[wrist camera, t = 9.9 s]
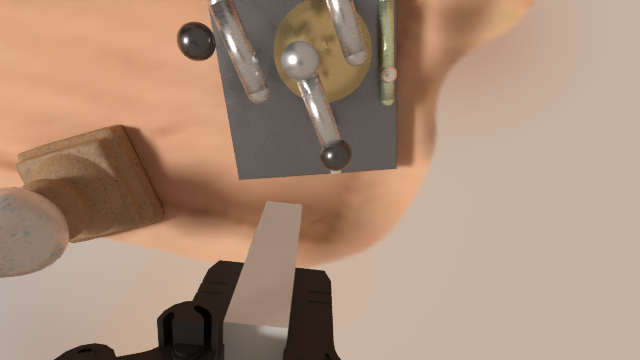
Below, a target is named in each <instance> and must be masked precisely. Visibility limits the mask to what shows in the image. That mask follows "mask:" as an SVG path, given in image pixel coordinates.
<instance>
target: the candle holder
mask: <svg viewBox="0 0 640 360" xmlns="http://www.w3.org/2000/svg"><path fill="white" fill-rule="evenodd" d="M17 156H18V159H19V161H20V162H19V163H18V164H16V168H17V171H18V173H19V175H20V177H21V179H22V181H23V183H24V184H25V185H24V186H23V187H22V188H15V187H7V188H0V278H5V277H15V276H21V275H26V274H31V273H34V272H37V271H39V270H42V269H44V268H46V267H48V266H50V265H51V264H53V263H54V262H55V261H56V260H57V259H59V258H60V257H61V255H62V254H63V252H64V251H65V249H66V247H67V245H68V242H71V243H76V242H82V241H87V240H91V239H95V238H99V237H103V236H107V235H111V234H115V233H119V232H123V231H127V230H131V229H135V228H139V227H143V226H146V225H149V224H153V223H155V222H157V221H158V220H159V219H160V218H161V217H162V216H163V215H164V210H163V208H162V206H161V203H160V201H159V199H158V197H157V195H156V193H155V190H154V188H153V186H152V184H151V182H150V180H149V178H148V176H147V174H146V172H145V170H144V168H143V166H142V164H141V161H140V159H139V157H138V155H137V153H136V151H135V149H134V147H133V145H132V143H131V141H130V139H129V137H128V135H127V133H126V132H125V130H124V128H123V127H122V126H121V125H115V126H110V127H106V128H102V129H99V130H95V131H92V132H88V133H85V134H81V135H78V136H74V137H71V138H67V139H64V140H60V141H57V142H53V143H50V144H46V145H43V146H40V147H37V148H34V149H31V150H28V151H26V152H23V153H20V154H19V155H17Z"/></svg>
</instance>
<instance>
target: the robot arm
mask: <svg viewBox="0 0 640 360" xmlns="http://www.w3.org/2000/svg"><path fill="white" fill-rule="evenodd" d="M302 207H303V205H300V204H291V203H283V202H275V201H267V202H266V204H265V207H264V210H263V213H262V215H261V218H260V221H259V224H258V227H257V229H256V232H255V235H254V238H253V241H252V243H251V246H250V249H249V252H248V255H247V257H246V260H245V263H240V262H231V261H221V260H220V261H218V262H217V263H216V264H215V265H213V266H212V267H211V268H210V269H209V270H208V271H207V274H206V275H205V277H204V279H203V282H202V283H201V285H200V287H199V289H198V292H197V293H196V295H195V297H194V299H193V301H185V302H182V303H179V304H175V305H173V306H172V307H170V308H168V309H167V310H165V311H164V312H163V313H162V314H161V315H160V316H159V317H158V319H157V326H158V341H159V347H156V348H154V349H152V350H149V351H146V352H141V353H136V354H131V355H125V356H119V357H116V356H115V353H114V350H113V349H111V348H110V347H108V346H107V345H103V344H96V343H94V344H87V345H81V346H78V347H76V348H73V349H71V350H69V351H66V352H65V353H63V354H62V355H60V356H59V357H57V358H56V359H54V360H341V359H340V358H339V357H338V355H337V353H336V351H335V348H334V341H333V319H332V318H333V317H332V296H331V281H330V279H329V277H328V276H327V274H326V273H325V271H321V270H313V269H304V268H295V266H296V258H297V249H298V241H299V232H300V224H301V215H302Z"/></svg>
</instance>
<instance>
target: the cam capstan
mask: <svg viewBox="0 0 640 360" xmlns="http://www.w3.org/2000/svg"><path fill="white" fill-rule="evenodd" d="M208 6H209V9H210V11H211V14H212V16H213V18H214V20H215V23H216V25H217V27H218V30H219V32H220V34H221V36H222V39H223V41H224V43H225V46H226V48H227V50H228V53H229V55H230V57H231V59H232V62H233V64H234V66H235V69H236V71H237V73H238V75H239V78H240V80H241V82H242V85H243V87H244V89H245V91H246V94H247V96H248V98H249V99H250V100H251V101H252V102H254V103H258V104H260V103H264V102H265V101H267V99H268V98H269V95H270V89H269V86H268V84H267V81H266V79H265V77H264V74H263V72H262V69H261V67H260V64H259V62H258V60H257V57H256V55H255V52H254V50H253V47H252V45H251V43H250V40H249V38H248V35H247V33H246V30H245V28H244V25H243V23H242V21H241V18H240V16H239V13H238V11H237V8H236V6H235V4H234V1H233V0H208ZM177 43H178V47H179V49H180V50H181V52H182V53H183V54H184V55H185V56H186V57H187V58H189V59H191V60H194V61H203V60H206V59H208V58H210V57H211V56H212V54H213V53H214V51H215V47H216V41H215V37H214V35H213V33H212V31H211V30H210V29H209V28H208V27H207V26H206V25H204V24H202V23H199V22H189V23H186V24H184V25H183V26H182V27H181V28H180V29H179V31H178V34H177ZM371 56H372V45H371V38H370V34H369V31H368V28H367V26H366V24H365V22H364V21H363V19H362V18H361V16H360V15H359V14H358V13H357V12H356V10H355V7H354V3H353V0H306V1H304V2H302V3H300V4H298V5H297V6H295V7H294V8H293V9H292V10H291V11H289V12H288V14H287V15H286V16H285V17H284V19H283V20H282V22H281V23H280V25H279V28H278V30H277V33H276V36H275V41H274V60H275V65H276V68H277V71H278V73H279V75H280V77H281V79H282V80H283V82H284V83H285V84H286V86H287V87H288V88H289V89H290V90H291V91H292V92H294V93H295V94H296V95H298V96H299V97H301V98H303V100H304V102H305V105H306V108H307V110H308V113H309V116H310V118H311V121H312V124H313V126H314V129H315V131H316V134H317V137H318V139H319V142H320V145H321V147H322V148H321V150H320V160H321V162H322V164H323V165H324V166H325V167H326V168H327V169H329V170H332V171H340V170H343V169H345V168H346V167H347V166H348V165H349V164H350V162H351V159H352V150H351V147H350V146H349V144H348V143H347V142H345V141H344V140H342V138H341V135H340V132H339V130H338V127H337V124H336V121H335V118H334V115H333V113H332V110H331V107H330V104H329V102H333V101H337V100H340V99H342V98H344V97H346V96H347V95H349V94H350V93H352V92H353V91H354V90H355V89H356V88H357V87H358V86H359V85H360V83H361V82H362V81H363V79H364V77H365V76H366V74H367V71H368V69H369V66H370V62H371Z"/></svg>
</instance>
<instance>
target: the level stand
mask: <svg viewBox="0 0 640 360" xmlns="http://www.w3.org/2000/svg"><path fill="white" fill-rule="evenodd" d="M233 1H234V4H235V6H236V8H237V11H238V13H239V16H240V18H241V21H242V23H243V25H244V28H245V30H246V33H247V35H248V38H249V40H250V43H251V45H252V47H253V50H254V52H255V55H256V57H257V60H258V62H259V64H260V67H261V69H262V72H263V74H264V77H265V79H266V81H267V84H268V86H269V89H270V95H269V98H268V99H267V101H265V102H264V103H260V104H258V103H254V102H252V101H251V100H250V99H249V98H248V96H247V94H246V91H245V89H244V87H243V85H242V82H241V80H240V78H239V75H238V73H237V71H236V69H235V66H234V64H233V62H232V59H231V57H230V55H229V53H228V50H227V48H226V46H225V43H224V41H223V39H222V36H221V34H220V32H219V30H218V27H217V25H216V23H215V20H214V18H213V16H212V14H211V11H210V9H209V11H210V17H211V23H212V28H213V34H214V37H215V41H216V51H217V57H218V62H219V68H220V74H221V79H222V85H223V90H224V96H225V102H226V107H227V113H228V119H229V124H230V130H231V136H232V141H233V147H234V153H235V158H236V164H237V169H238V175H239V180H244V179H258V178H272V177H286V176H300V175H314V174H328V173H331V174H332V175H333V174H337V173H342V172H356V171H370V170H384V169H396V144H397V0H353V3H354V7H355V10H356V12H357V13H358V14H359V15H360V16H361V18H362V19H363V21H364V22H365V24H366V26H367V28H368V31H369V34H370V38H371V45H372V56H371V62H370V66H369V69H368V71H367V74H366V76H365V77H364V79H363V81H362V82H361V83H360V85H359V86H358V87H357V88H356V89H355V90H354V91H353V92H352V93H350V94H349V95H347V96H346V97H344V98H342V99H340V100H337V101H333V102H329V104H330V107H331V110H332V113H333V115H334V118H335V121H336V124H337V127H338V130H339V132H340V135H341V138H342V140H344V141H345V142H347V143H348V144H349V146H350V147H351V150H352V159H351V162H350V164H349V165H348V166H347V167H346V168H345V169H343V170H340V171H332V170H329V169H327V168H326V167H325V166H324V165H323V164H322V162H321V160H320V150H321V148H322V147H321V145H320V142H319V139H318V137H317V134H316V131H315V129H314V126H313V124H312V121H311V118H310V116H309V113H308V110H307V108H306V105H305V102H304V100H303V98H301V97H299V96H298V95H296V94H295V93H294V92H292V91H291V90H290V89H289V88H288V87H287V86H286V84H285V83H284V82H283V80H282V79H281V77H280V75H279V73H278V71H277V68H276V65H275V60H274V41H275V36H276V33H277V30H278V28H279V25H280V23H281V22H282V20H283V19H284V17H285V16H286V15H287V14H288V12H289V11H291V10H292V9H293V8H294V7H295V6H297V5H298V4H300V3H302V2H304V1H306V0H233Z"/></svg>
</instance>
